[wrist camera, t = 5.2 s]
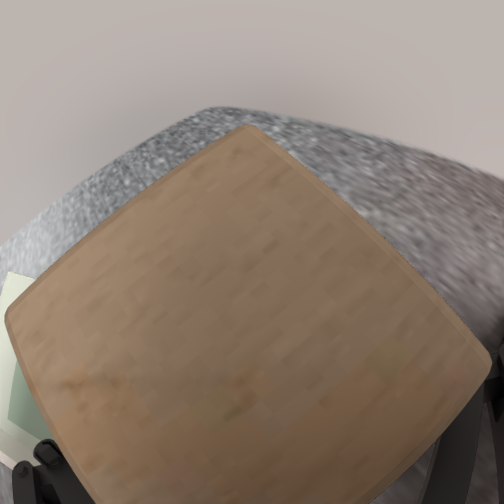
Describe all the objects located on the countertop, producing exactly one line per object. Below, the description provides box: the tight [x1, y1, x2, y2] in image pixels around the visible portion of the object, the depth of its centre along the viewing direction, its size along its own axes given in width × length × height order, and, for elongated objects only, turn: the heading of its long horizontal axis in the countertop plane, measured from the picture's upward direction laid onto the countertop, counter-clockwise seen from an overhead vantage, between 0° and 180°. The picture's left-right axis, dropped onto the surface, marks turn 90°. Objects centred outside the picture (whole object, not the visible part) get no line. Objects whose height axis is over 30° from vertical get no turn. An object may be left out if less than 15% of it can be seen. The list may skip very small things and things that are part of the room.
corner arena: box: [0, 271, 56, 470], centre depth 24 cm, size 19×19×5 cm
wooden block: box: [4, 124, 492, 504], centre depth 16 cm, size 10×10×20 cm
